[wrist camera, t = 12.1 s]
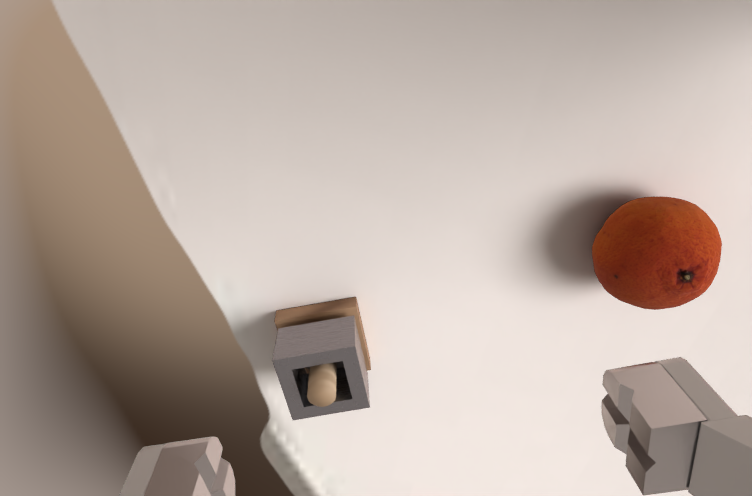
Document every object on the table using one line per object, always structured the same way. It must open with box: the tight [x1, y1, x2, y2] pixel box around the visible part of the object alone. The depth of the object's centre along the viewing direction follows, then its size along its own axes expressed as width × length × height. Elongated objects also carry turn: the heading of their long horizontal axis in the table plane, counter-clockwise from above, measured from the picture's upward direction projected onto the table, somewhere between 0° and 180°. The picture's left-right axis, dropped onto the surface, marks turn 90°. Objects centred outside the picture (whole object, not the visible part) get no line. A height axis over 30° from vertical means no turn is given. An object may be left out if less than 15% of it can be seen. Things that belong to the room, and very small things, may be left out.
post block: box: [275, 297, 371, 407], centre depth 42 cm, size 7×7×8 cm
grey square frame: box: [272, 315, 370, 420], centre depth 42 cm, size 6×6×4 cm
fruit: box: [592, 197, 722, 310], centre depth 39 cm, size 9×9×8 cm
